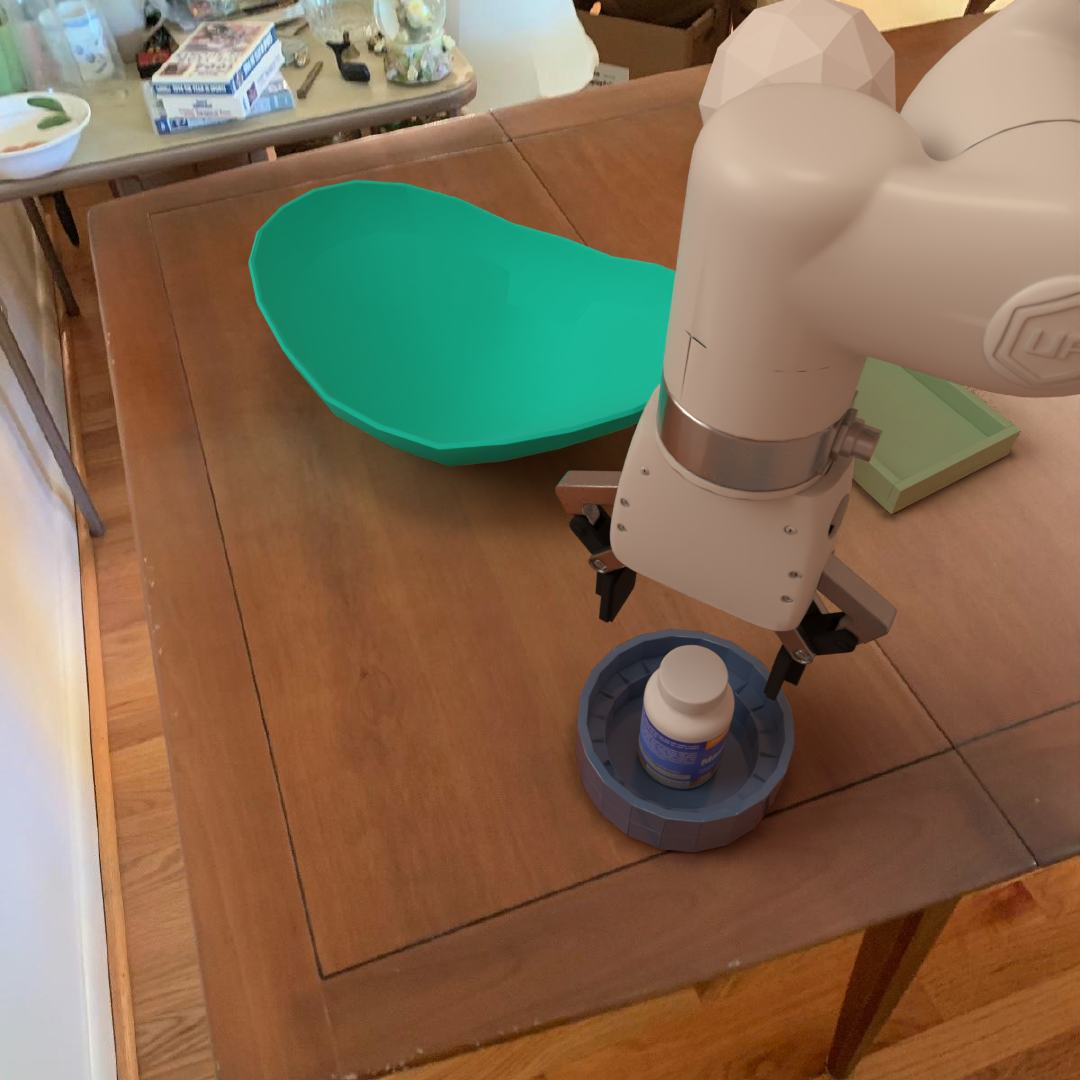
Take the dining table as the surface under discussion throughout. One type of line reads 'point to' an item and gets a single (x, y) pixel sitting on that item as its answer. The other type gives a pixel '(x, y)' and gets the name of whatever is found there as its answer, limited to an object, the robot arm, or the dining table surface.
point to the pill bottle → (685, 717)
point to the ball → (802, 53)
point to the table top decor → (458, 322)
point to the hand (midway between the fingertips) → (695, 639)
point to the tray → (923, 433)
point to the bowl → (671, 813)
